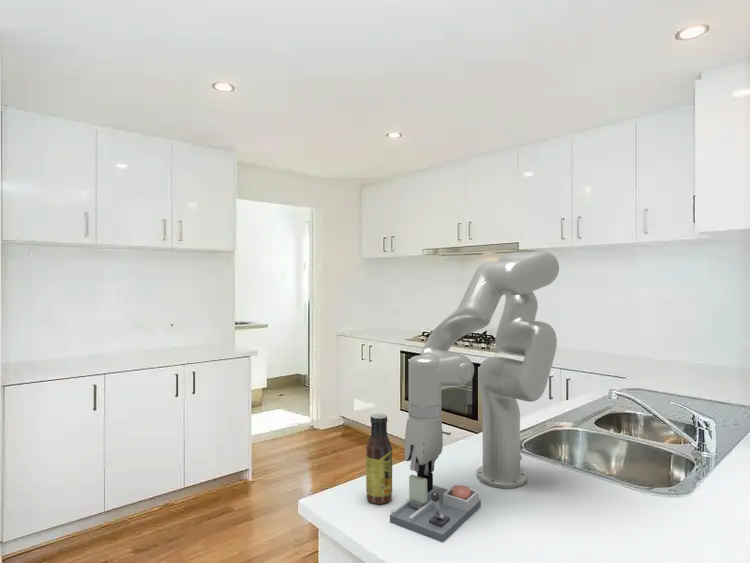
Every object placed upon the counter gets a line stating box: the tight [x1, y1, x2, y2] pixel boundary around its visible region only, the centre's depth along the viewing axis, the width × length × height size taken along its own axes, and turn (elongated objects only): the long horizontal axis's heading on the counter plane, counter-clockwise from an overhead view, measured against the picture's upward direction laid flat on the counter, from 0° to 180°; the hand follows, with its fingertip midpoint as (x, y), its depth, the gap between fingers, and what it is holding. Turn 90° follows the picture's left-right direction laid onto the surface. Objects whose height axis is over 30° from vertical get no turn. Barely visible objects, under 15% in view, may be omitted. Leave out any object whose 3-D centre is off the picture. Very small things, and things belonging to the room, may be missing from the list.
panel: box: [389, 484, 482, 543], centre depth 105 cm, size 18×13×4 cm
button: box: [451, 484, 471, 500], centre depth 107 cm, size 4×4×3 cm
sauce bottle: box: [365, 413, 393, 505], centre depth 112 cm, size 7×6×20 cm
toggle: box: [431, 492, 445, 520], centre depth 98 cm, size 2×2×6 cm
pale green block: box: [408, 474, 427, 509], centre depth 106 cm, size 3×4×6 cm
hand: (425, 489), depth 108 cm, fingers closed
